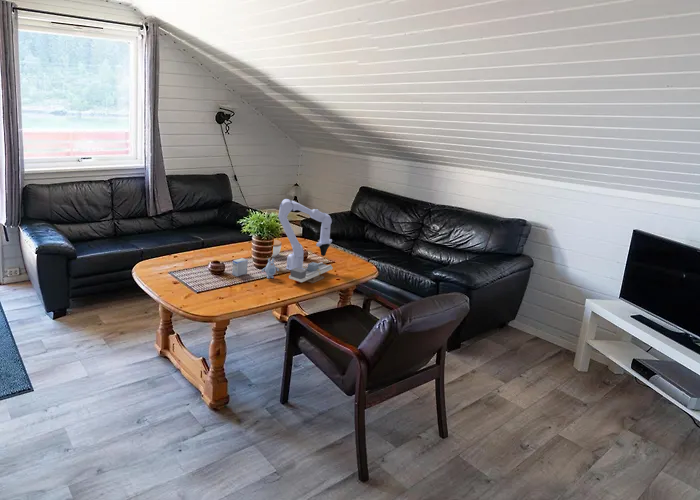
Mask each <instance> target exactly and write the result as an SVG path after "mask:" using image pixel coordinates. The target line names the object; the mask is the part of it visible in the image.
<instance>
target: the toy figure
mask: <svg viewBox="0 0 700 500" xmlns="http://www.w3.org/2000/svg"><path fill="white" fill-rule="evenodd" d="M274 262H275V257H268V259H267V264H266V266H265V267H264V268H262V269H261V272H262V273H264V272H265V274H266V275H267V276H266V278H267V279H274V275H275V274H276V273H277V272H280V268H279V267H277V266H276V265H275V263H274Z"/></svg>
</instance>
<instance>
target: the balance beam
mask: <svg viewBox="0 0 700 500" xmlns="http://www.w3.org/2000/svg"><path fill="white" fill-rule="evenodd" d="M318 264H319V269H317V270H316V271H313V272H311V271H308V267H305V269H299V268H294V269H291V270H290V275H288V279H290V280H294V281H296V282H298V283H303V282H308V283H311V284H314V283H316V282H319V281H321V280H324V279H325V276H323V275H322V274H324V273H325V274H326V273H327V272H329V271H332V270H333V266H332V264H324V262H322V261H321V262H318Z"/></svg>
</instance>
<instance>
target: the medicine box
mask: <svg viewBox="0 0 700 500" xmlns="http://www.w3.org/2000/svg"><path fill="white" fill-rule="evenodd" d="M248 261H249V260H248V259H246V258H244V257H242V258H237V259H233V260H232V266H231V267H232V270H231V275H233V276H235V277H240V276H244V275H247V274H248V266H249V265H248V264H249V263H248Z"/></svg>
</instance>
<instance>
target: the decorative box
mask: <svg viewBox="0 0 700 500" xmlns="http://www.w3.org/2000/svg"><path fill="white" fill-rule="evenodd" d="M281 248H282V241H281V240H278V239H274V245H273V255H272V257H271V258H275V257H277V256H278V255H279V254H280V252H281Z"/></svg>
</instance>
